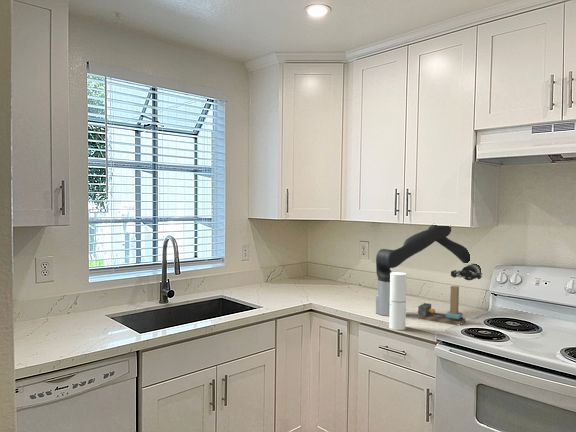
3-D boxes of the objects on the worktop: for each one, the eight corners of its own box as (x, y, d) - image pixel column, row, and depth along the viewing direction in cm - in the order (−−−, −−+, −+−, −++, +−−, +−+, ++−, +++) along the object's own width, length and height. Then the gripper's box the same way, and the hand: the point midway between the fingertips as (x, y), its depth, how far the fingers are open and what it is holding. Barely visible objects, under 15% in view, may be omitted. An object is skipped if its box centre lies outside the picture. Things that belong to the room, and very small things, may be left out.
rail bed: (418, 318, 211) (418, 306, 211) (424, 314, 219) (424, 303, 218) (460, 325, 199) (460, 313, 199) (465, 321, 207) (465, 309, 206)
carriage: (445, 316, 204) (446, 286, 204) (449, 313, 210) (450, 284, 209) (458, 318, 201) (459, 288, 200) (462, 315, 206) (463, 286, 206)
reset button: (427, 313, 212) (427, 308, 212) (429, 312, 214) (429, 307, 214) (433, 314, 210) (433, 309, 210) (435, 313, 212) (435, 308, 212)
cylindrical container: (398, 331, 190) (399, 275, 190) (385, 327, 196) (386, 273, 195) (408, 328, 195) (409, 273, 194) (396, 324, 200) (397, 271, 199)
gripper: (456, 264, 233) (448, 267, 220) (485, 266, 224) (477, 270, 211) (456, 277, 233) (448, 282, 220) (484, 280, 225) (477, 285, 212)
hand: (462, 276), depth 216 cm, fingers open, 8 cm apart
